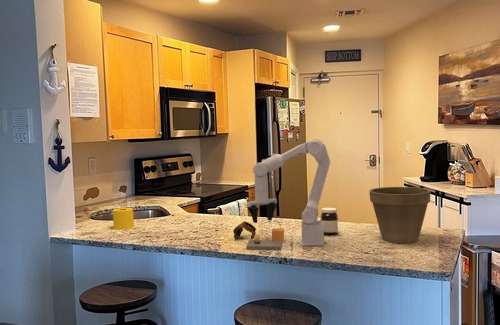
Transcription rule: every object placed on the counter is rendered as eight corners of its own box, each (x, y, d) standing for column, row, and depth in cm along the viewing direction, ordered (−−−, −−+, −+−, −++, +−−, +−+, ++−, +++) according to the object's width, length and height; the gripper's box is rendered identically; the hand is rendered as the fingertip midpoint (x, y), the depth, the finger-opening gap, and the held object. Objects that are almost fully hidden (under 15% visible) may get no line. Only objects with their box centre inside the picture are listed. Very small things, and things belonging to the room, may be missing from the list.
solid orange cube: (284, 239, 202) (283, 228, 201) (283, 242, 197) (283, 230, 196) (272, 239, 202) (272, 228, 202) (271, 242, 197) (271, 230, 197)
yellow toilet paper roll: (136, 225, 239) (135, 207, 238) (129, 229, 229) (128, 211, 228) (118, 225, 240) (117, 207, 239) (110, 229, 230) (109, 211, 229)
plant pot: (358, 236, 204) (357, 188, 202) (403, 230, 213) (403, 184, 211) (394, 250, 181) (394, 195, 179) (443, 243, 189) (443, 191, 188)
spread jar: (337, 236, 205) (337, 211, 204) (312, 236, 207) (312, 210, 206) (338, 230, 216) (337, 206, 215) (314, 230, 219) (313, 206, 218)
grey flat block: (282, 243, 194) (281, 232, 194) (280, 250, 184) (280, 238, 184) (249, 243, 196) (249, 232, 196) (246, 249, 186) (246, 237, 186)
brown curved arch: (238, 235, 214) (247, 220, 213) (253, 246, 209) (262, 231, 208) (224, 234, 204) (233, 218, 203) (239, 246, 199) (248, 229, 198)
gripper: (269, 187, 204) (270, 217, 205) (242, 191, 196) (243, 222, 197) (279, 189, 198) (280, 220, 199) (251, 192, 190) (252, 224, 191)
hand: (262, 221), depth 198 cm, fingers open, 7 cm apart
